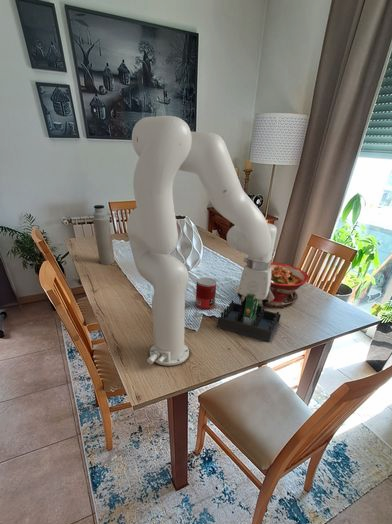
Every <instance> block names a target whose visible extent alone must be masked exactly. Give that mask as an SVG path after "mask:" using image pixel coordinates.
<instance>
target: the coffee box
mask: <svg viewBox="0 0 392 524" xmlns="http://www.w3.org/2000/svg"><path fill="white" fill-rule="evenodd" d="M258 302H259V299H255V295H253V294H249V293H248V294H247V299H246V305H245V311H244V317H243V323H244V324H248V325H251V324H252V323H253V321H254V320H255V319H256V311H257V306H258Z"/></svg>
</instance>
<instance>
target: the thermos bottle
mask: <svg viewBox="0 0 392 524" xmlns="http://www.w3.org/2000/svg"><path fill="white" fill-rule="evenodd" d="M93 208H94V212H93V213H92V214H93V215H92V216H93V217H92V223H93V228H94V235H95V240H96V241H95V242H96V247H97V253H98V260H99V263H100V264H102V265H113V264H114V263H115V262H116V260H115V253H114V252H115V251H114V244H113V236H112V229H111V221H110V217H109V215H108V212H106V209H105V205H102V204H95V205H93Z"/></svg>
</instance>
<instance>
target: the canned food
mask: <svg viewBox="0 0 392 524" xmlns="http://www.w3.org/2000/svg"><path fill="white" fill-rule="evenodd" d="M195 287H196V289H195V306H196V307H197V309H200V310H207V311H208V310H212V309H213V308H214V307H215V305H216V304H215V303H216V292H217V280H216V279H214V278H212V277H206V276H205V277H199V278H197V279H196V285H195Z"/></svg>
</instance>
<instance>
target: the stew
mask: <svg viewBox="0 0 392 524" xmlns="http://www.w3.org/2000/svg"><path fill="white" fill-rule="evenodd" d="M270 268H271V285H270V290H271V292H272V294H273V296H274V299H273V300H272V301H270V302H267V303H266V304H264V305H263V307H262V308H269V309H270V308H272V309H274V308H275V309H280V308H287V307H289V306H292V304H293V303H295V302H296V301H297V300H298V298H299V295H298V293H297V292H296V291H297V290H298V289H299V288H301V287H303V285H305V284H306V283H307V282H308V281H309V275H308V273H307V272H305V271H304V270H303V269H301V268H299V267H296V266H293V265H290V264H287V263H281V262H271V264H270ZM268 297H269V296H268V295H267V297H266V298H268ZM295 297H296V298H295ZM246 299H247V297H246ZM285 299H286V300H287V301H286V300H285ZM285 301H286V302H285ZM258 304H259V302H258Z"/></svg>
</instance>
